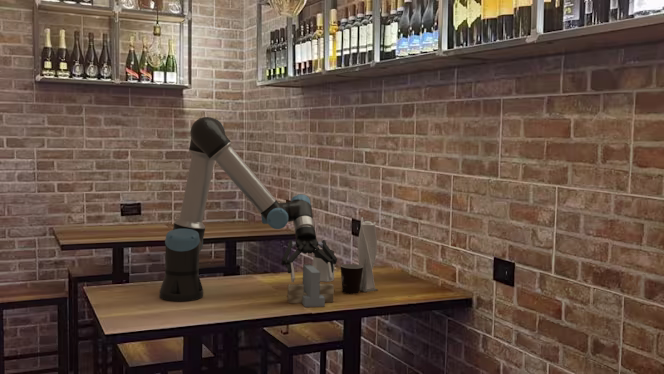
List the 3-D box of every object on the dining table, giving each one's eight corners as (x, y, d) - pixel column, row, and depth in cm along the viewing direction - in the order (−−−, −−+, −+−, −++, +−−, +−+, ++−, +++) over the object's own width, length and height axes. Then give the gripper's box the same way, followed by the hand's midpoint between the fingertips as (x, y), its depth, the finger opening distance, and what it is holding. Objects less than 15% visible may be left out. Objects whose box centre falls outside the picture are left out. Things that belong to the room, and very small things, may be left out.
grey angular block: (296, 296, 235) (297, 264, 234) (315, 296, 236) (316, 264, 235) (304, 307, 221) (306, 272, 220) (324, 306, 223) (325, 272, 222)
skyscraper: (350, 287, 252) (352, 216, 249) (365, 285, 257) (368, 215, 254) (364, 292, 245) (367, 219, 243) (379, 289, 250) (383, 218, 248)
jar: (322, 276, 270) (323, 248, 269) (337, 279, 265) (338, 250, 264) (308, 279, 263) (309, 250, 262) (323, 282, 258) (324, 253, 257)
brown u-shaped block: (289, 303, 225) (289, 286, 225) (287, 301, 228) (288, 284, 228) (333, 302, 229) (333, 285, 229) (331, 299, 232) (331, 283, 232)
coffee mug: (360, 295, 240) (361, 269, 239) (337, 293, 242) (338, 267, 241) (364, 288, 251) (365, 263, 250) (343, 286, 253) (344, 261, 252)
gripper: (335, 237, 245) (344, 284, 232) (270, 237, 239) (275, 286, 226) (339, 225, 240) (348, 273, 227) (273, 225, 234) (278, 274, 220)
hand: (312, 280), depth 226 cm, fingers open, 13 cm apart
